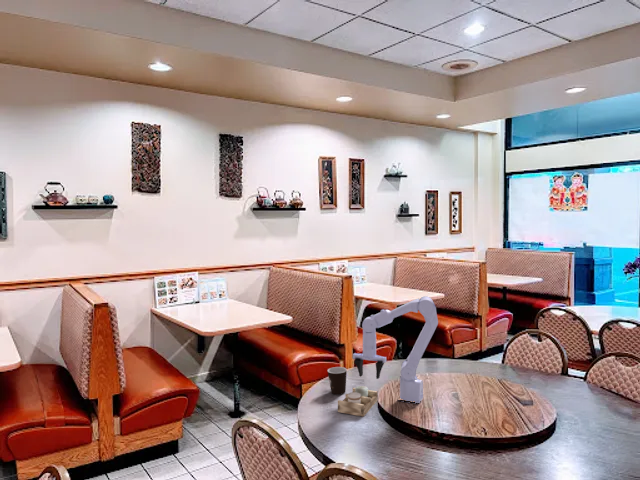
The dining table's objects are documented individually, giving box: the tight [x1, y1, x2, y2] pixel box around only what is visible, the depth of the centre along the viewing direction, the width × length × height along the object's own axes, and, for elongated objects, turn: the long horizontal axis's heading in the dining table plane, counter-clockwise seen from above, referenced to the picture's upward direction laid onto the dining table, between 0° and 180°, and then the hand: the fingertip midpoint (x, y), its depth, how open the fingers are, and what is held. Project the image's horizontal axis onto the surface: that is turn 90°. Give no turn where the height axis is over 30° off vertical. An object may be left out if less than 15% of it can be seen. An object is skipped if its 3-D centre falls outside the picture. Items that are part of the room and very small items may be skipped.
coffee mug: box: [327, 366, 348, 396], centre depth 222 cm, size 12×9×10 cm
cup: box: [347, 391, 361, 404], centre depth 200 cm, size 5×5×6 cm
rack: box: [337, 385, 379, 417], centre depth 204 cm, size 11×17×6 cm, turn 154°
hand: (369, 376), depth 211 cm, fingers open, 7 cm apart
